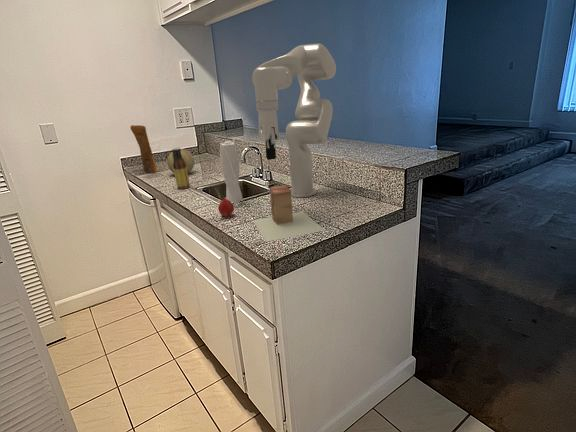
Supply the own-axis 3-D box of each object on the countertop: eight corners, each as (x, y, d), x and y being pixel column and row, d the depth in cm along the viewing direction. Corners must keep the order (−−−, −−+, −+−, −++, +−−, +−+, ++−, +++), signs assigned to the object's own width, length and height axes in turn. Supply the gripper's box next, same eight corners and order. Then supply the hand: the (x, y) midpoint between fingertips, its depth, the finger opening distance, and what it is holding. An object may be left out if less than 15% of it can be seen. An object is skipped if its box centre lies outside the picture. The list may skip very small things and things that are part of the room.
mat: (252, 221, 132) (252, 220, 132) (303, 212, 137) (303, 211, 137) (266, 243, 114) (266, 241, 114) (324, 231, 119) (324, 230, 119)
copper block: (272, 219, 132) (269, 187, 128) (287, 216, 133) (285, 185, 129) (276, 224, 126) (274, 192, 122) (292, 221, 128) (290, 189, 124)
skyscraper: (248, 201, 155) (241, 136, 145) (237, 207, 149) (229, 139, 138) (233, 199, 159) (225, 135, 149) (221, 205, 153) (212, 138, 143)
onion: (216, 217, 138) (213, 198, 135) (228, 213, 142) (226, 194, 139) (225, 221, 134) (222, 201, 131) (237, 216, 138) (235, 196, 135)
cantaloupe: (197, 175, 204) (193, 148, 198) (170, 179, 199) (165, 152, 193) (193, 169, 217) (189, 145, 211) (168, 173, 212) (164, 148, 206)
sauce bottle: (183, 185, 185) (177, 146, 178) (192, 186, 182) (186, 147, 174) (174, 189, 180) (167, 149, 172) (183, 190, 176) (176, 150, 169)
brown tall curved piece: (149, 174, 212) (139, 126, 201) (138, 170, 226) (128, 124, 215) (160, 172, 215) (151, 125, 205) (149, 167, 229) (140, 123, 219)
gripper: (251, 105, 129) (256, 156, 135) (262, 108, 116) (266, 164, 122) (272, 104, 131) (275, 154, 137) (284, 106, 118) (287, 161, 124)
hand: (271, 158), depth 130 cm, fingers closed
